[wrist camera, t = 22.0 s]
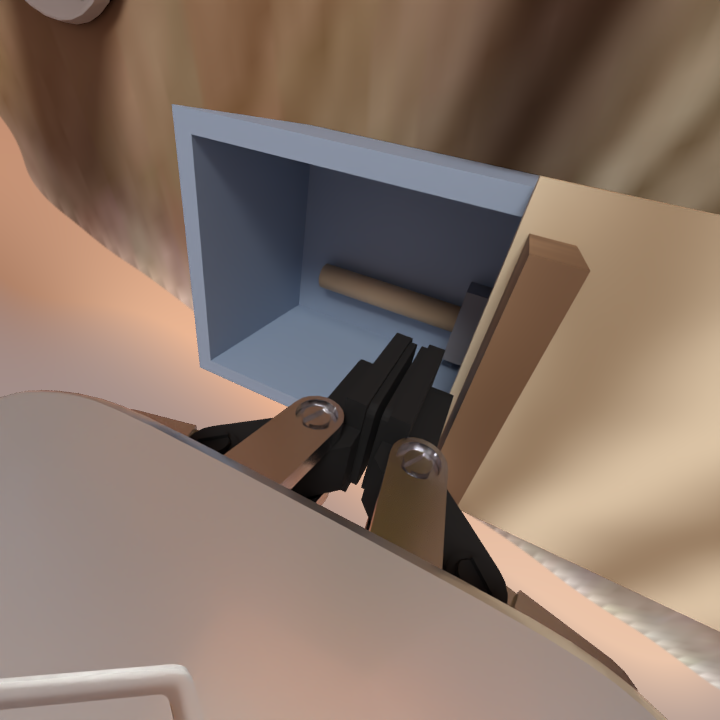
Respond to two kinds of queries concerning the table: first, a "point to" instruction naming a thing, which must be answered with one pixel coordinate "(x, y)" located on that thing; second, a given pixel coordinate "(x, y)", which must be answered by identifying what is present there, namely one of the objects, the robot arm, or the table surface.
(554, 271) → the lid
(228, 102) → the table surface
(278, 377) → the toolbox
